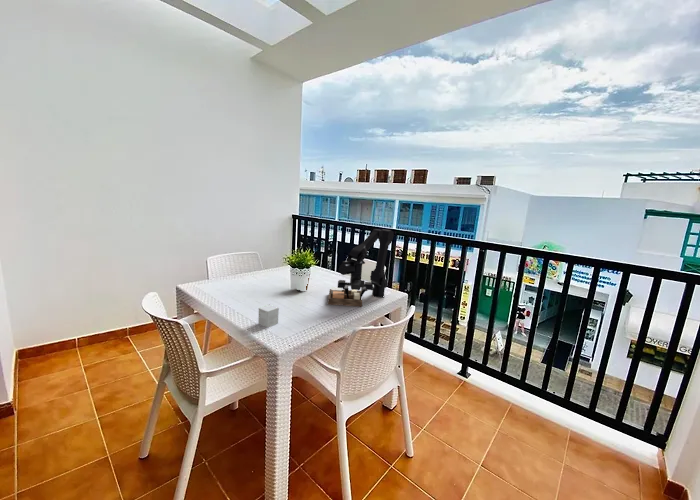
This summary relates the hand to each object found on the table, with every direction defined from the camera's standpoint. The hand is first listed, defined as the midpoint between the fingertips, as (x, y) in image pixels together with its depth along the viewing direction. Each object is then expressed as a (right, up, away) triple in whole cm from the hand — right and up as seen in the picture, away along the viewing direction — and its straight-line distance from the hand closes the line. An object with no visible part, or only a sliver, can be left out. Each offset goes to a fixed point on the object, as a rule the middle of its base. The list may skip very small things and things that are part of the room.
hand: (353, 300), depth 149 cm
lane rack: (-5, -1, +4) cm, 6 cm away
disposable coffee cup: (-31, +3, +16) cm, 35 cm away
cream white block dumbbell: (-6, +1, +7) cm, 9 cm away
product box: (-37, -5, -30) cm, 48 cm away
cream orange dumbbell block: (-4, 0, 0) cm, 4 cm away
